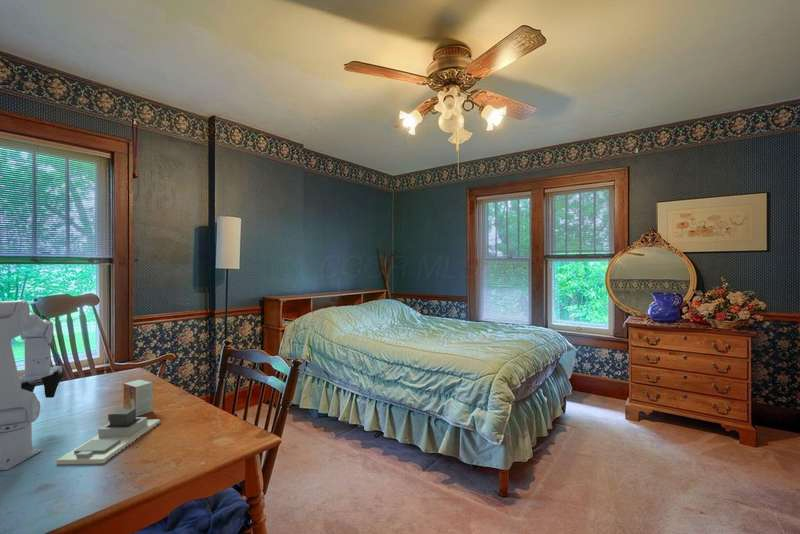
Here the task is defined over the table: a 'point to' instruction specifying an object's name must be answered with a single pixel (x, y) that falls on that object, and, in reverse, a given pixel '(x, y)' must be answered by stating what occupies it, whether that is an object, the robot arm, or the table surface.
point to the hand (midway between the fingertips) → (38, 401)
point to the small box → (138, 396)
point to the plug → (122, 418)
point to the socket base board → (108, 442)
